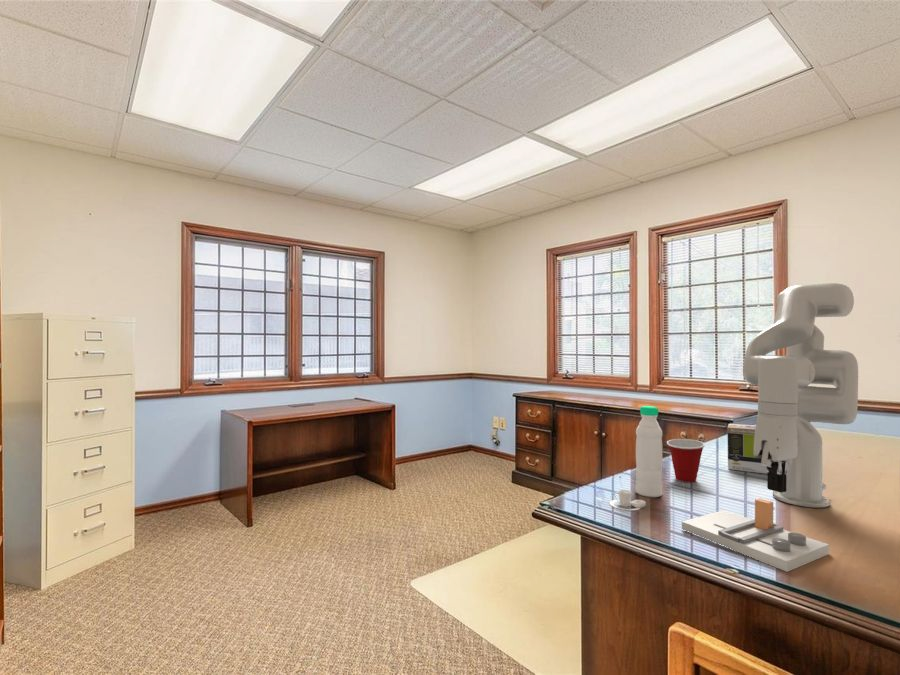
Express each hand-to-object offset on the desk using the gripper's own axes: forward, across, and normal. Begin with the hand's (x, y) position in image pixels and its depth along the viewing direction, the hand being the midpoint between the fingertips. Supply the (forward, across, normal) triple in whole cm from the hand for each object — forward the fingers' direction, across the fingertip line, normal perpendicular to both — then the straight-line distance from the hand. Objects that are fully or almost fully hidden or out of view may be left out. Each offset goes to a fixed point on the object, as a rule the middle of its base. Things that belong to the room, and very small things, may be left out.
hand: (776, 490), depth 107 cm
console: (+10, +9, 0) cm, 14 cm away
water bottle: (+10, +2, -32) cm, 34 cm away
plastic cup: (+9, -20, -36) cm, 42 cm away
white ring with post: (+11, +16, -26) cm, 33 cm away
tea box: (+8, -52, -33) cm, 62 cm away
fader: (+8, +5, 0) cm, 9 cm away
